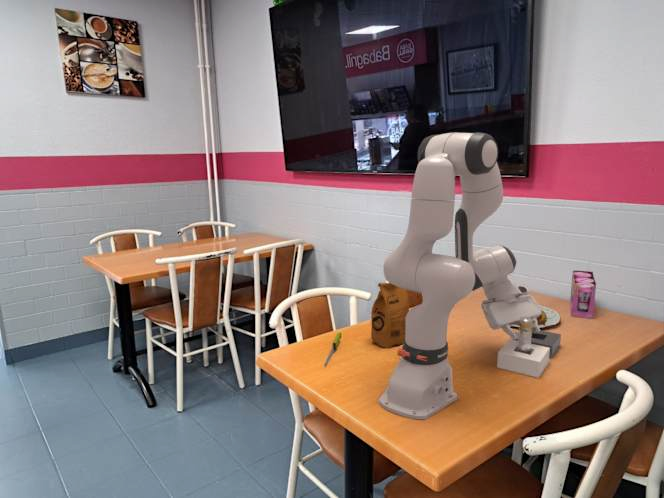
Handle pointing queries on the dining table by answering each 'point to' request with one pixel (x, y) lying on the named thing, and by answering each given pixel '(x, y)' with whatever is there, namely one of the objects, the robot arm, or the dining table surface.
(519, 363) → the rack block
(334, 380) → the dining table surface
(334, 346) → the kitchen knife
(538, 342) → the socket block
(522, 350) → the shiny cylindrical peg
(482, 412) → the dining table surface
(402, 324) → the coffee package
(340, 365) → the dining table surface
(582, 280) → the gum box
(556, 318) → the food on plate
